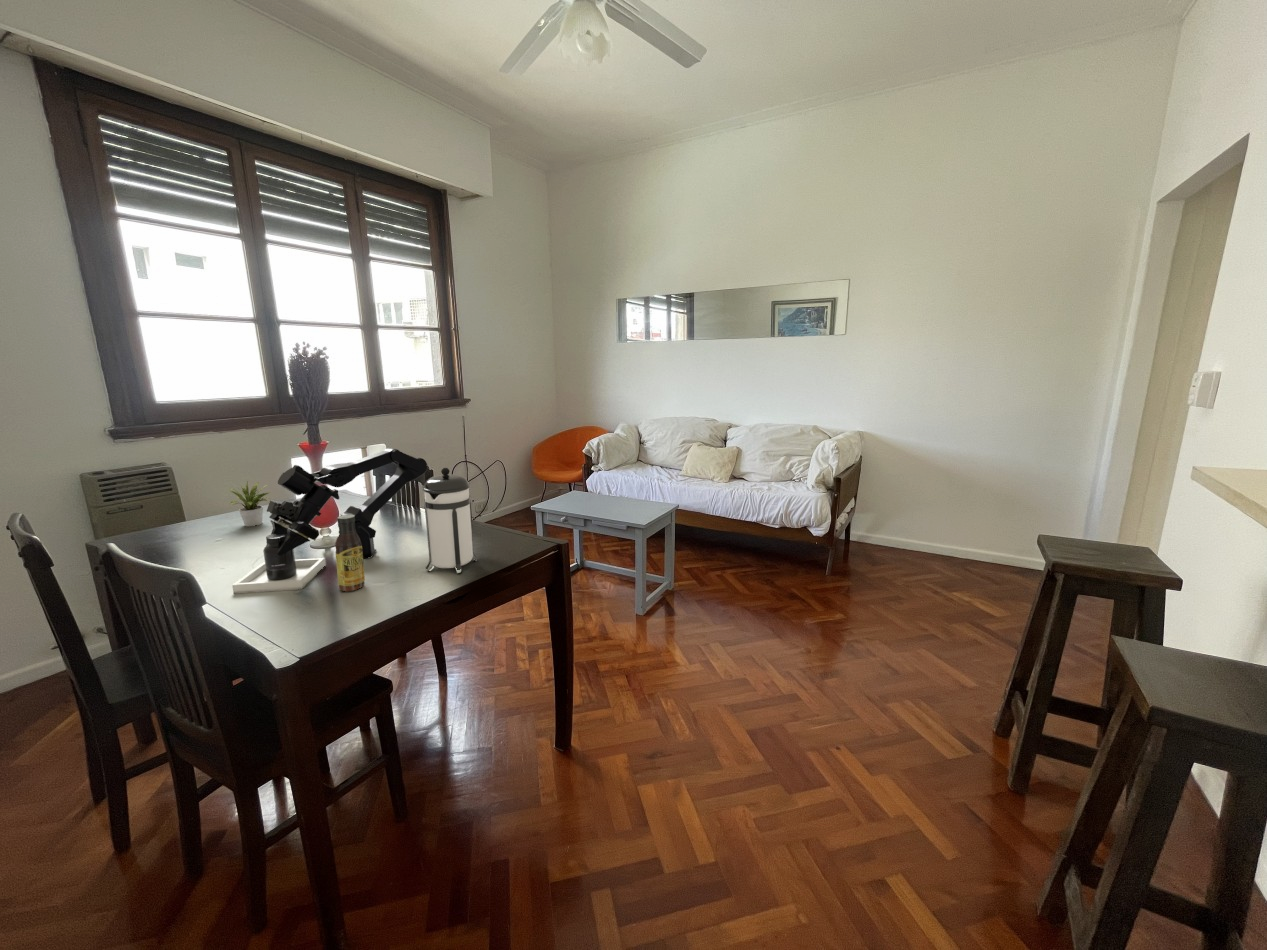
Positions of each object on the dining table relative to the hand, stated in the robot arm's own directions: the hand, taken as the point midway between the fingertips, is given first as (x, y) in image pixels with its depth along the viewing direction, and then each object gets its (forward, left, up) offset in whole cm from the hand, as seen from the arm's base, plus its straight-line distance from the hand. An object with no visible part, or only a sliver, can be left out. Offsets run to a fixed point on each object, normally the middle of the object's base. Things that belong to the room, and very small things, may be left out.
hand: (272, 551), depth 137 cm
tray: (-1, -1, -8) cm, 8 cm away
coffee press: (-46, -4, -9) cm, 47 cm away
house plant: (+33, -54, -9) cm, 64 cm away
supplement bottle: (-1, -1, -8) cm, 8 cm away
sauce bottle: (-22, +8, -9) cm, 25 cm away
